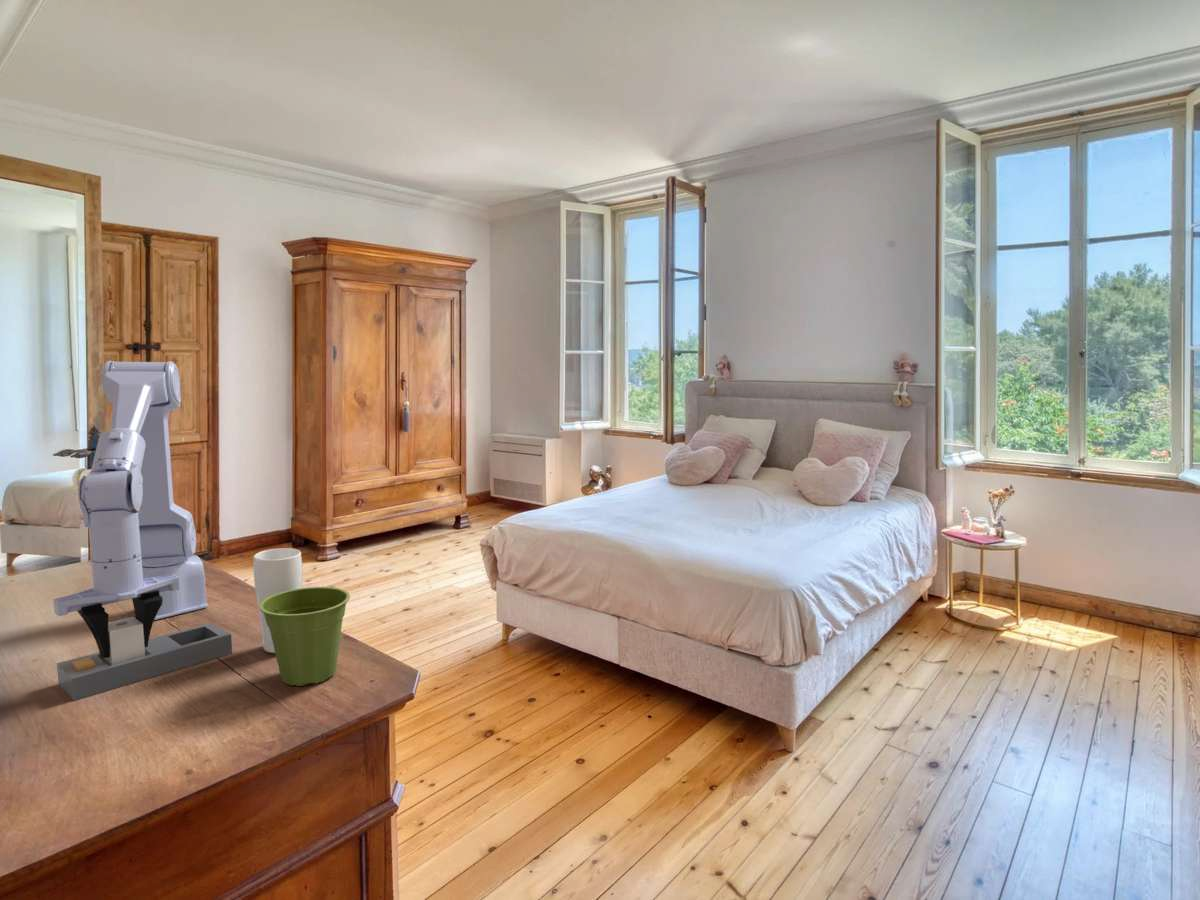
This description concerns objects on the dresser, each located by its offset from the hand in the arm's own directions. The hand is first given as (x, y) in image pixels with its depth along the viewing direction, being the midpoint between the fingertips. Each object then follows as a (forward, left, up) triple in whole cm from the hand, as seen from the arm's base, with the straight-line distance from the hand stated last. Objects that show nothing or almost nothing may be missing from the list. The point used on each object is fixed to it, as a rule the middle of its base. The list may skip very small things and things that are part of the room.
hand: (124, 650), depth 100 cm
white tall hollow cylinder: (-19, +7, -4) cm, 21 cm away
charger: (0, 0, -2) cm, 2 cm away
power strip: (-3, 0, -4) cm, 5 cm away
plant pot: (-17, +19, -4) cm, 26 cm away
